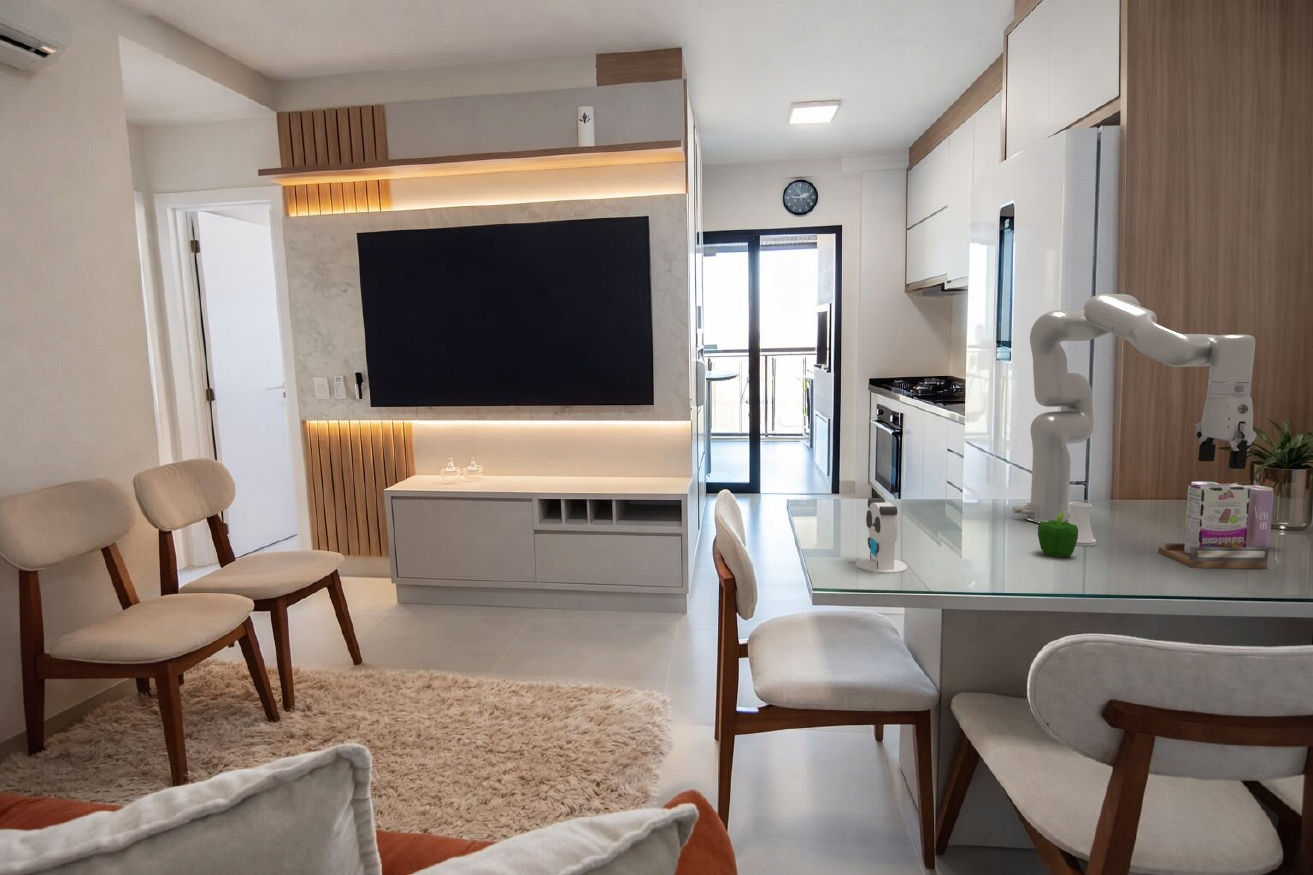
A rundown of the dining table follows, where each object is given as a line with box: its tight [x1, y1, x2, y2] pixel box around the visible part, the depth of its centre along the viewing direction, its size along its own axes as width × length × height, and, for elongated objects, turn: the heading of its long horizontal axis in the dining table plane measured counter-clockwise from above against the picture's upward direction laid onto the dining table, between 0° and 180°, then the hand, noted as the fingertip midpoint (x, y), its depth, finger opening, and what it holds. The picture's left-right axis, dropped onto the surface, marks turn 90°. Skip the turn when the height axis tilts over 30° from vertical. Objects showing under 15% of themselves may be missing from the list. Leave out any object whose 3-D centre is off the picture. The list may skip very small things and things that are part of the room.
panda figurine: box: [855, 497, 909, 575], centre depth 162 cm, size 12×11×15 cm
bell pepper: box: [1037, 513, 1078, 558], centre depth 169 cm, size 8×8×10 cm
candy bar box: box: [1183, 483, 1250, 555], centre depth 162 cm, size 11×5×16 cm, turn 92°
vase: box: [1069, 501, 1097, 547], centre depth 180 cm, size 8×8×10 cm
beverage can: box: [1245, 484, 1275, 549], centre depth 173 cm, size 6×6×15 cm
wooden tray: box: [1157, 542, 1270, 569], centre depth 163 cm, size 16×12×4 cm
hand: (1221, 464), depth 160 cm, fingers open, 9 cm apart
